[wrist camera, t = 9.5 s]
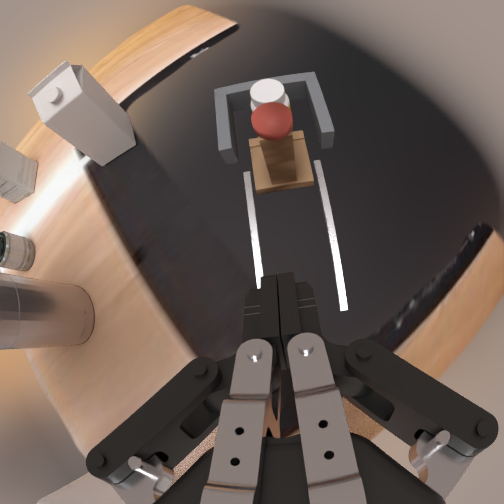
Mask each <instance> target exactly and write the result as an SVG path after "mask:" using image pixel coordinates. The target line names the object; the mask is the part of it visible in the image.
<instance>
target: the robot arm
mask: <svg viewBox="0 0 504 504" xmlns="http://www.w3.org/2000/svg"><path fill="white" fill-rule="evenodd" d="M93 324H94V311H93V306H92V303H91V300H90V298H89V296H88V294H87V293H86V292H85V291H84V290H83V289H82V288H80V287H78V286H74V285H67V284H61V283H55V282H49V281H43V280H38V279H32V278H26V277H21V276H16V275H10V274H5V273H0V349H21V348H22V349H23V348H41V347H55V346H68V345H79V344H82V343H84V342H85V341H86V340H87V339H88V338H89V336H90V334H91V332H92V329H93ZM286 361H287V367H288V369H291V375H292V381H293V388H294V395H295V402H296V408H297V415H298V422H299V428H300V434H298V435H295V436H292V437H289V438H285V439H280V429H279V418H280V401H281V370H285V369H286ZM341 395H343V396H344V397H345V398H346V399H347V400H348V401H349V402H351V403H352V404H353V405H355V406H356V407H357V408H359V409H360V410H361V411H363V412H364V413H365V414H367V415H368V416H369V417H371V418H372V419H373V420H375V421H376V422H377V423H379V424H380V425H381V426H383V427H384V428H386V429H387V430H388V431H390V432H391V433H393V434H394V435H395V436H397V437H398V438H400V439H401V440H402V441H404V442H405V443H407V444H408V445H410V446H411V448H410V451H409V461H410V463H411V465H412V466H413V467H414V468H415V469H416V470H417V472H418V475H419V479H418V478H417V477H416V476H414V475H413V474H412V473H410V472H409V471H408V470H406V469H405V468H404V467H403V466H401V465H400V464H399V463H397V462H396V461H395V460H393V459H392V458H391V457H390V456H389V455H387V454H386V453H385V452H384V451H382V450H381V449H380V448H379V447H377V446H376V445H375V444H374V443H372V442H371V441H370V440H368V439H367V438H365V437H363V436H360V435H358V434H355V433H351V432H349V427H348V423H347V419H346V415H345V411H344V407H343V403H342V399H341ZM217 426H218V429H217V434H216V440H215V446H214V447H212V448H211V449H209V450H208V451H207V452H205V453H204V454H203V455H202V456H201V457H200V458H199V459H198V460H197V461H196V462H195V463H194V464H193V465H192V466H191V467H190V468H189V469H188V470H187V471H186V472H185V473H184V474H183V475H182V476H181V477H180V478H179V479H178V480H177V481H176V482H175V483H174V484H173V485H172V486H171V487H170V485H171V484H172V483H173V481H174V471H173V468H174V467H175V466H177V465H178V464H179V463H180V462H181V461H182V460H183V459H184V458H185V457H186V456H187V455H188V454H189V453H190V452H191V451H193V450H194V449H195V448H196V447H197V446H198V445H199V444H200V443H201V442H202V441H203V440H204V439H205V438H206V437H207V436H208V435H209V434H210V433H211V432H212V431H213V430H214V429H215V428H216V427H217ZM497 435H498V422H497V420H496V418H495V417H494V416H493V415H492V414H490V413H489V412H487V411H485V410H484V409H482V408H481V407H479V406H477V405H476V404H474V403H472V402H471V401H469V400H468V399H466V398H464V397H463V396H461V395H460V394H458V393H456V392H455V391H453V390H451V389H450V388H448V387H447V386H445V385H443V384H442V383H440V382H439V381H437V380H435V379H434V378H432V377H431V376H429V375H427V374H426V373H424V372H422V371H421V370H419V369H418V368H416V367H415V366H413V365H411V364H410V363H408V362H407V361H405V360H403V359H402V358H400V357H399V356H397V355H395V354H394V353H392V352H391V351H389V350H387V349H386V348H384V347H383V346H381V345H380V344H378V343H376V342H375V341H373V340H370V339H359V340H356V341H354V342H352V343H351V344H350V345H349V346H342V345H335V344H332V343H330V342H328V341H327V340H326V339H325V338H324V337H323V336H322V334H321V330H320V325H319V319H318V314H317V309H316V303H315V298H314V293H313V288H312V287H311V286H310V285H309V284H308V283H307V281H306V282H300V283H295V280H294V274H293V272H290V273H282V274H278V279H277V275H268V276H261V277H260V288H256V289H250V291H249V293H248V294H247V296H246V298H245V316H244V330H243V343H242V345H241V346H240V347H239V348H238V350H237V353H236V354H234V355H233V356H231V357H229V358H227V359H224V360H221V361H218V362H215V361H214V360H213V359H211V358H208V357H200V358H196V359H194V360H192V361H191V362H190V363H188V364H187V365H186V366H185V367H184V368H183V369H182V370H181V371H180V372H179V373H178V374H177V375H176V376H174V377H173V378H172V379H171V380H170V381H169V382H168V383H167V384H166V385H165V386H164V387H162V388H161V389H160V390H159V391H158V392H157V393H156V394H155V395H154V396H152V397H151V398H150V399H149V400H148V401H147V402H146V403H145V404H144V405H142V406H141V407H140V408H139V409H138V410H137V411H136V412H135V413H133V414H132V415H131V416H130V417H129V418H128V419H127V420H125V421H124V422H123V423H122V424H121V425H120V426H119V427H117V428H116V429H115V430H114V431H113V432H112V433H110V434H109V435H108V436H107V437H106V438H105V439H103V440H102V441H101V442H100V443H99V444H98V445H96V446H95V447H94V448H93V449H92V450H91V451H90V452H89V453H88V455H87V458H86V466H87V469H88V471H89V472H90V474H91V475H93V476H94V477H96V478H99V479H101V480H103V481H105V482H106V483H108V484H110V485H111V486H112V487H113V489H114V490H115V491H116V492H117V494H118V495H119V496H120V497H121V499H122V500H123V501H124V502H125V504H446V503H445V501H444V500H445V498H446V497H447V496H448V495H449V493H450V492H451V491H452V489H453V488H454V486H455V485H456V484H457V482H458V481H459V480H460V478H461V477H462V475H463V474H464V472H465V471H466V469H467V468H468V466H469V465H470V463H471V461H472V460H473V458H474V457H475V456H476V455H477V454H479V453H480V452H482V451H483V450H484V449H486V448H487V447H488V446H490V445H491V444H492V443H493V442H494V441H495V439H496V437H497ZM169 487H170V488H169ZM168 488H169V489H168Z"/></svg>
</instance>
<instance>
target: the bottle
mask: <svg viewBox="0 0 504 504" xmlns="http://www.w3.org/2000/svg"><path fill="white" fill-rule="evenodd" d="M37 504H125V502H124V501H123V500H122V499H121V497H120V496H119V495H118V494H117V492H116V491H115V490H114V489H113V487H112V486H111V485H110V484H108V483H106V482H105V481H103V480H101V479H99V478H96V477H94V476H93V475H91V474H90V472H89V473H87V474H86V475H84V476H82V477H80V478H79V479H77V480H75V481H73V482H72V483H70V484H68V485H66V486H64V487H63V488H61V489H59V490H57V491H55V492H53V493H51V494H50V495H48V496H46V497H44V498H42V499H40V500H39V501H38V502H37Z"/></svg>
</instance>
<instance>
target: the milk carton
mask: <svg viewBox="0 0 504 504" xmlns="http://www.w3.org/2000/svg"><path fill="white" fill-rule="evenodd" d="M28 95H29V96H30V97H31V98H32V99H33V102H34V104H35V106H36V109H37V111H38V113H39V115H40V118H41V120H42V122H43V123H44V124H45V125H46V126H47V127H49V128H50V129H51V130H53V131H54V132H56V133H57V134H58V135H60V136H61V137H62V138H64V139H65V140H66V141H68V142H69V143H70V144H72V145H73V146H75V147H76V148H77V149H79V150H80V151H81V152H83V153H84V154H86V155H87V156H88V157H90V158H91V159H92V160H94V161H95V162H97V163H98V164H99V165H101V166H104V165H106V164H107V163H109V162H110V161H112V160H113V159H115V158H116V157H118V156H119V155H121V154H122V153H124V152H125V151H127V150H129V149H130V148H132V147H133V146H135V145H136V141H135V137H134V133H133V129H132V125H131V120H130V117H129V116H128V114H127V113H126V112H125V111H124V110H123V109H122V108H121V107H120V106H119V105H118V103H117V102H116V101H115V100H114V99H113V98H112V97H111V96H110V95H109V94H108V93H107V92H106V90H105V89H104V88H103V87H102V86H101V85H100V84H99V83H98V82H97V81H96V80H95V79H94V78H93V76H92V75H91V74H90V73H89V72H88V71H87V70H86V69H85V68H84V67H83V65H70V64H69V63H68V62H67V61H65V62H63V63H62V64H61V65H59V67H57V68H56V69H55V70H54V71H52V72H51V73H50V74H49V75H48V76H46V77H45V78H44V79H43V80H42V81H41V82H40V83H38V84H37V85H36V86H35V87H34V88H33V89H32V90H31V91H30V92H29V93H28Z"/></svg>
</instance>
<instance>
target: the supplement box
mask: <svg viewBox="0 0 504 504" xmlns="http://www.w3.org/2000/svg"><path fill="white" fill-rule="evenodd" d="M37 166H38V163H37V162H35V161H34V160H32V159H30V158H28V157H27V156H25V155H23V154H22V153H20V152H18V151H17V150H15V149H13V148H11V147H9V146H8V145H6V144H5V143H3V142H1V141H0V197H3V198H5V199H7V200H10V201H12V202H14V203H17V202H19V201H20V200H22V199H24V198H25V197H27V196H29V195H30V194H32V193H33V192H34V187H35V179H36V172H37Z"/></svg>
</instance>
